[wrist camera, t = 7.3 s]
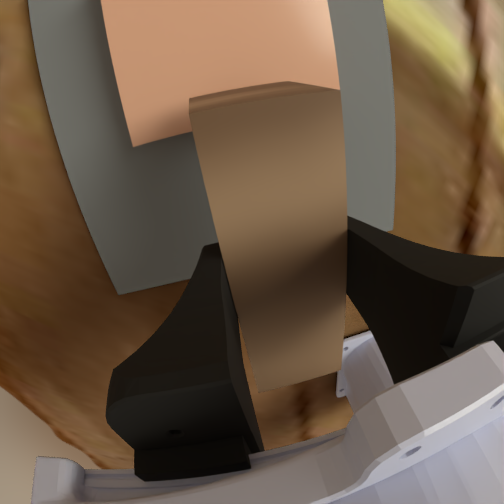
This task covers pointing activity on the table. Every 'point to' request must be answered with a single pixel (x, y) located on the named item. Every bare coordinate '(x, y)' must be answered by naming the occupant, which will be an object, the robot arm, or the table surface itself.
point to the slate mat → (191, 142)
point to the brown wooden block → (279, 221)
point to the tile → (210, 53)
